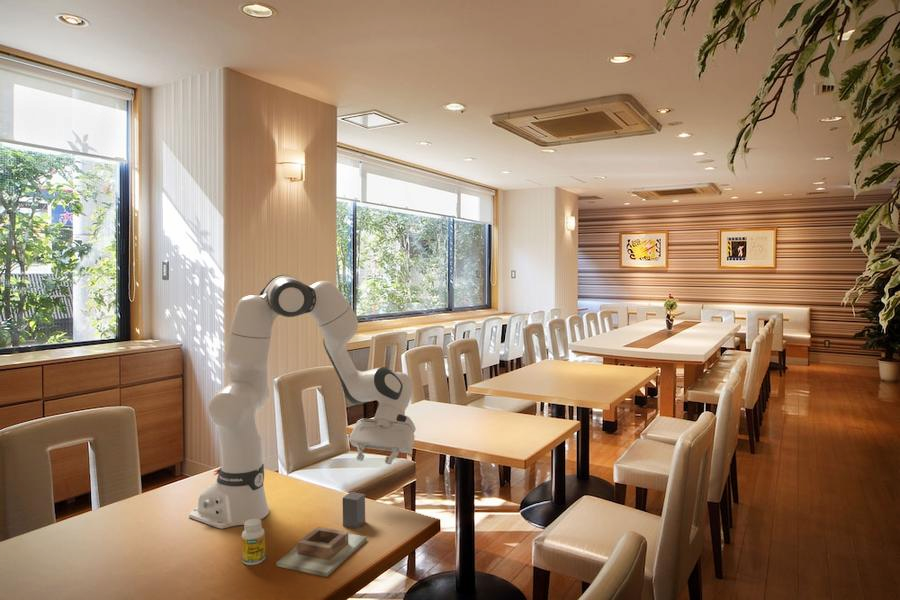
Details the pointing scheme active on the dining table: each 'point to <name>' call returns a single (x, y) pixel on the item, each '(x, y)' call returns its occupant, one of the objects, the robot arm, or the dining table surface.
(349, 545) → the socket holder
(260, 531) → the supplement bottle
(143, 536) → the dining table surface
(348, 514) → the plug block
